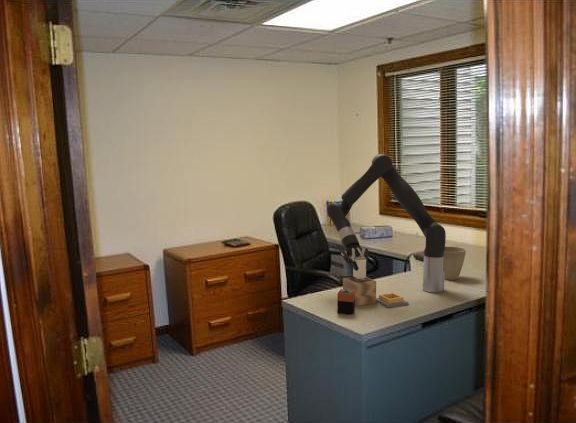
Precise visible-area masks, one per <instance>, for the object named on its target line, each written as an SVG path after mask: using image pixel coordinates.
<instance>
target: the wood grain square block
mask: <svg viewBox="0 0 576 423" xmlns="http://www.w3.org/2000/svg"><path fill="white" fill-rule="evenodd" d="M342 289H345V291H349V290H352V291H354V292H355V307H357V306H362V305H363V306H364V305H369V304H370V305H371V304H375V303H377V302H376V298H377V280H374V279H372V278H371V277H369V276H368V277H367V276H366V278H359V279H358V278H355V277H353V276H348V277H342Z"/></svg>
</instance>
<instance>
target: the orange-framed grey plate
mask: <svg viewBox="0 0 576 423" xmlns="http://www.w3.org/2000/svg"><path fill="white" fill-rule="evenodd" d="M376 303H377V304H379V305H381V306H382V307H385V308H386V309H390V308H396V307H402V306H403V307H404V306H409V305H410V304H409V303H410V302H408V301H407V300H405V299H404V296H401V295H399V294H397V293H395V292H389V293H382V294H379V295H378V297H376Z"/></svg>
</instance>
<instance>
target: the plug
mask: <svg viewBox="0 0 576 423" xmlns="http://www.w3.org/2000/svg"><path fill="white" fill-rule="evenodd" d="M355 262H356V263H357V266H358V268H359V269H358V270H357V271H355V270H354V268H352V270H353V271H352V273H353V275H352V277H355V278H358V279H359V278H366V277H367V270H366V262H367V261H366V258H364V257H361V256H360V257H355Z"/></svg>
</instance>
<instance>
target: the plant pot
mask: <svg viewBox="0 0 576 423" xmlns="http://www.w3.org/2000/svg"><path fill="white" fill-rule="evenodd" d="M466 252H467V249H466V248H464V247H459V246H445V251H444V256H443V271H444V272H445V279H444V280H448V281H455V280H458V279H459V277H460V275H461V271H462V269H463V265H464V264H465V263H464V262H465V258H466Z"/></svg>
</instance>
